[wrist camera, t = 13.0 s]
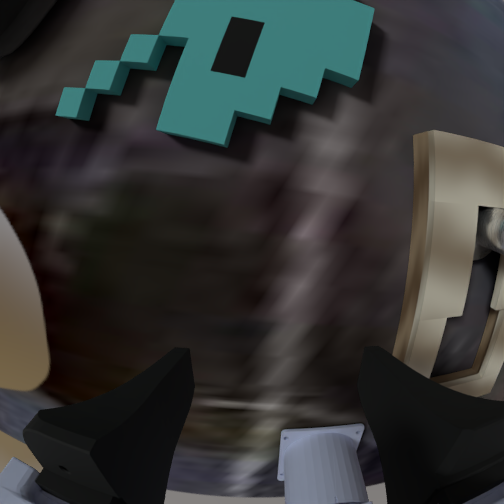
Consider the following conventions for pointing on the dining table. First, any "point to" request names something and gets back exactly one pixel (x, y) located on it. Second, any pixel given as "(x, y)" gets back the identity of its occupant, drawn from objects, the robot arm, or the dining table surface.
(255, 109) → the alien figure
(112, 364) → the dining table surface
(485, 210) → the peg
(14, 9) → the casserole
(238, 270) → the dining table surface
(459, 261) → the keyhole plate
